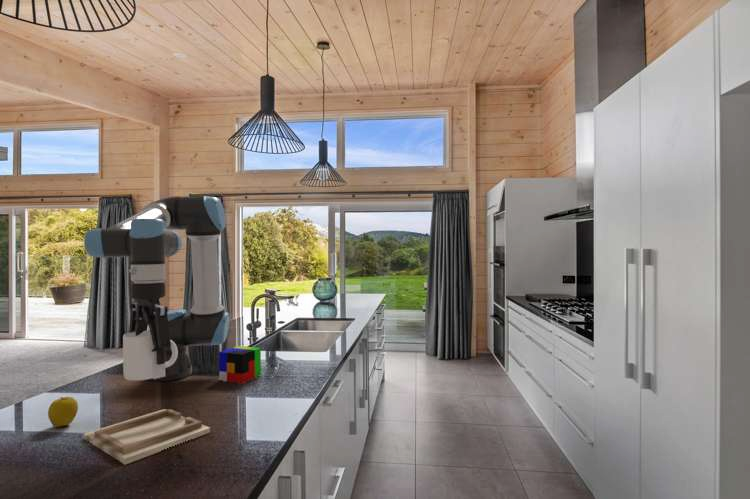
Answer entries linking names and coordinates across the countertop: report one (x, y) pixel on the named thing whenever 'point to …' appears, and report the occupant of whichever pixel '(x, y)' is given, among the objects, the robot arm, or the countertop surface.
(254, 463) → the countertop surface
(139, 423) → the board
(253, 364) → the puzzle toy
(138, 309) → the robot arm
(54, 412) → the apple
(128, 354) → the mug
